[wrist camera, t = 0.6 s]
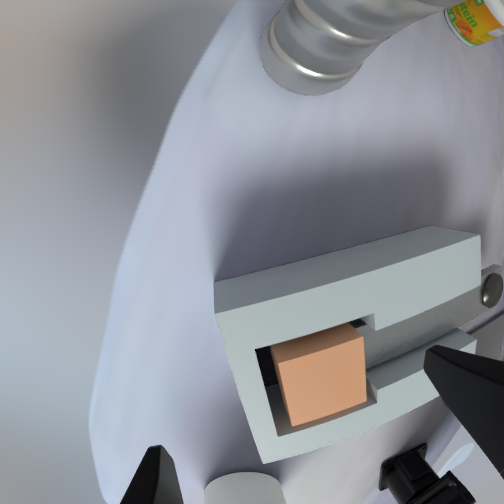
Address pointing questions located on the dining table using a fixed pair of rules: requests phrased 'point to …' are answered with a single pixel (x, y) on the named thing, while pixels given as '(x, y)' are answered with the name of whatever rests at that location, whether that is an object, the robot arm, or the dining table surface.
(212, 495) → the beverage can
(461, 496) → the robot arm
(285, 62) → the plastic bottle
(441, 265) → the grey-green channel block
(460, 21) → the supplement bottle
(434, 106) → the dining table surface
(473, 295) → the lever
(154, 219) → the dining table surface
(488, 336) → the pad
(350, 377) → the tile
